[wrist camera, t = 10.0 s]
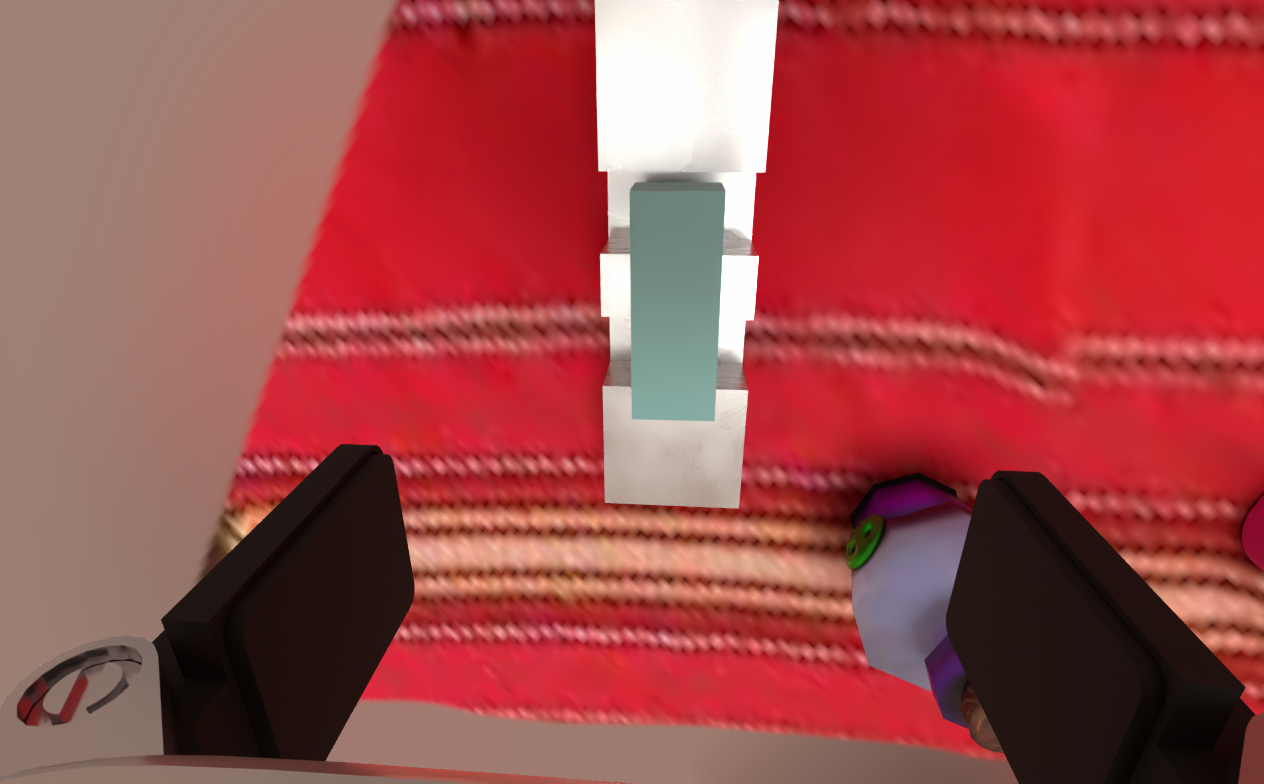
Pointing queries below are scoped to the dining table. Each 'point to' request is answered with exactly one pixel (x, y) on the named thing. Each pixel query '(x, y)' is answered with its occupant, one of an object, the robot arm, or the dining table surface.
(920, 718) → the dining table surface
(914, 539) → the potion bottle
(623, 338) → the rail
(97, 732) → the robot arm
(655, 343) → the teal u-shaped block
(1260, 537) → the pepper mill
